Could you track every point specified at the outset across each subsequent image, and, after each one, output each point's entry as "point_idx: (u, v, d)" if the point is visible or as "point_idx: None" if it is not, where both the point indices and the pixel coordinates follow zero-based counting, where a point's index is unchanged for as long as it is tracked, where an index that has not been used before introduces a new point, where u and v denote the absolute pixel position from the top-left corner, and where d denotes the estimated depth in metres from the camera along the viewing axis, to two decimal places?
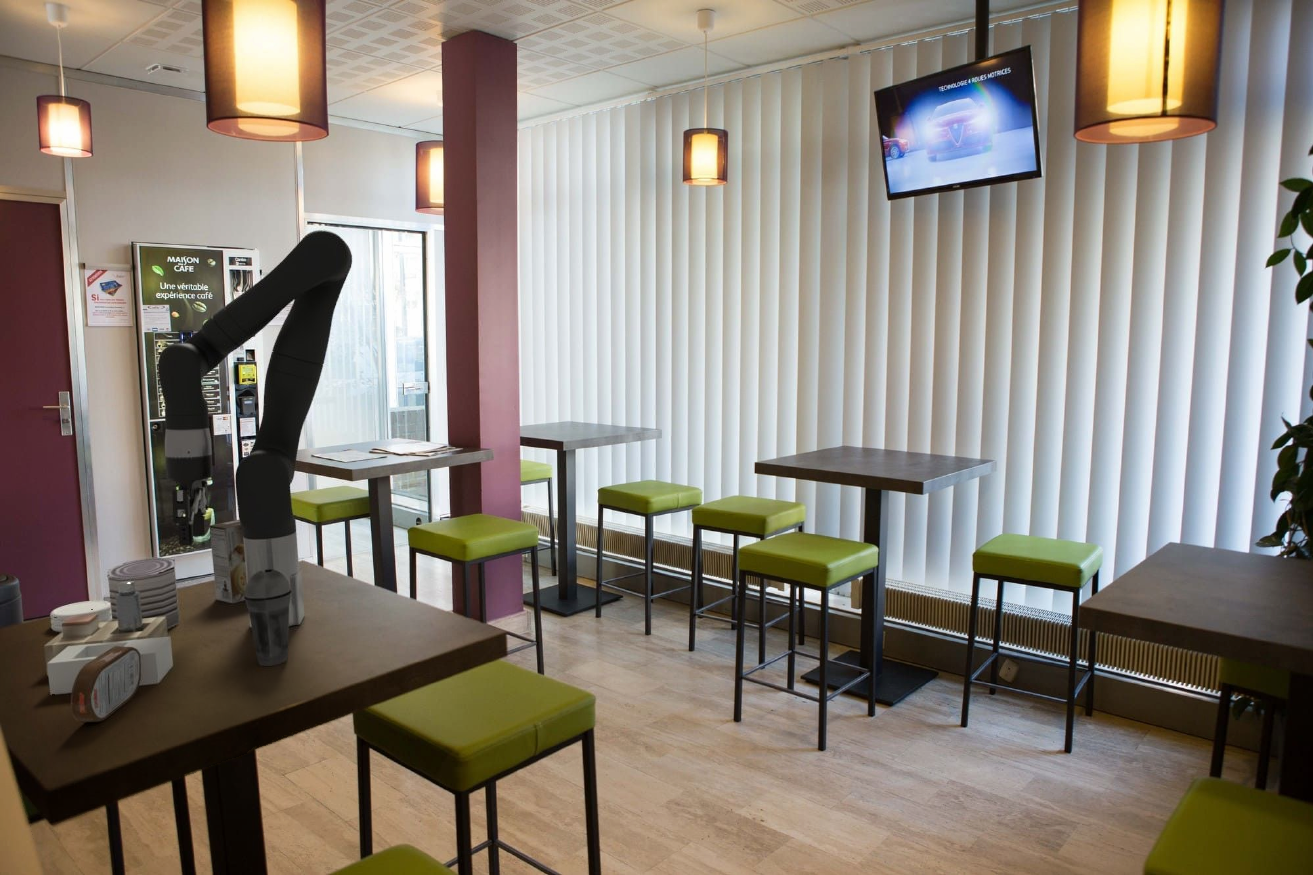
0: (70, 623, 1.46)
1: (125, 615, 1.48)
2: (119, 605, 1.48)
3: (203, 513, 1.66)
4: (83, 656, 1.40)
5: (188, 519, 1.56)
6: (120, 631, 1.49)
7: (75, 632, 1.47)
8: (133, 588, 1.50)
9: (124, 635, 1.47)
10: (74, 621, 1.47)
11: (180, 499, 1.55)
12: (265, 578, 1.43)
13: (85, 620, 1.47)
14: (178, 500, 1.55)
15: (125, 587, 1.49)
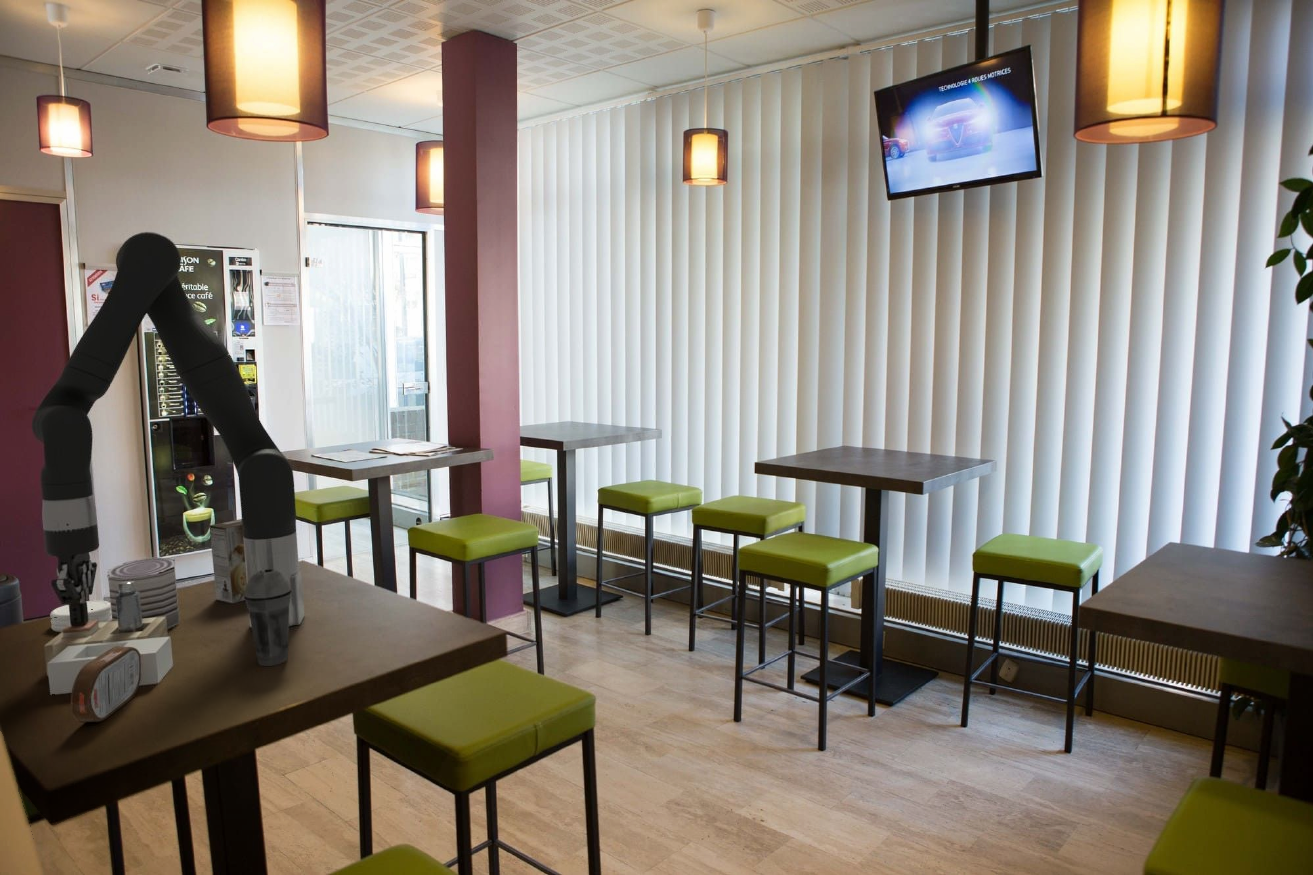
0: (71, 629, 1.47)
1: (125, 615, 1.48)
2: (119, 605, 1.48)
3: (84, 597, 1.49)
4: (83, 656, 1.40)
5: (78, 601, 1.45)
6: (120, 631, 1.49)
7: None
8: (133, 588, 1.50)
9: (124, 635, 1.47)
10: (75, 627, 1.47)
11: (63, 589, 1.43)
12: (265, 578, 1.43)
13: (86, 626, 1.47)
14: (61, 589, 1.43)
15: (125, 587, 1.49)
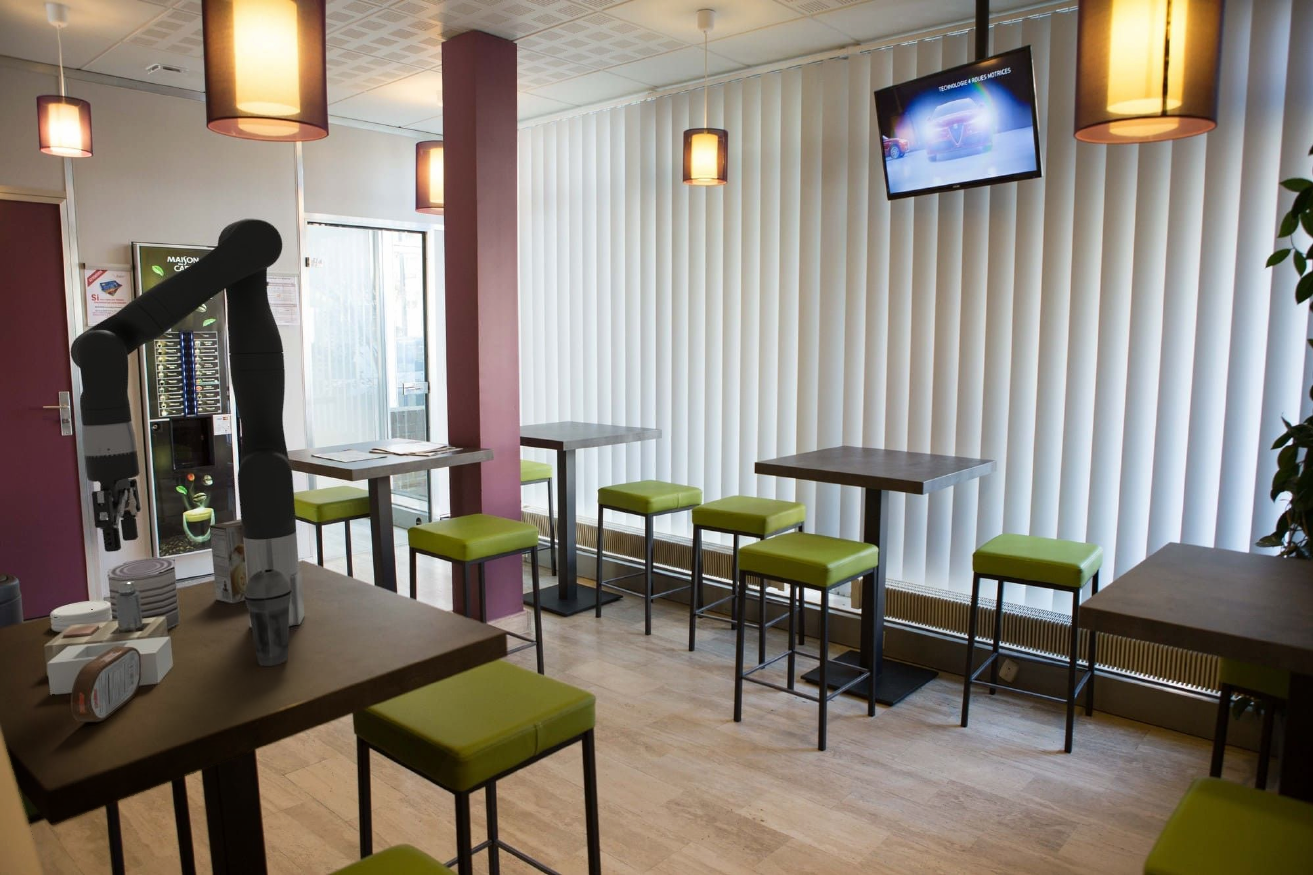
0: (71, 635, 1.47)
1: (125, 615, 1.48)
2: (119, 605, 1.48)
3: (134, 515, 1.53)
4: (83, 656, 1.40)
5: (111, 522, 1.42)
6: (120, 631, 1.49)
7: None
8: (133, 588, 1.50)
9: (124, 635, 1.47)
10: (75, 633, 1.47)
11: (101, 501, 1.41)
12: (265, 578, 1.43)
13: (86, 632, 1.48)
14: (99, 502, 1.41)
15: (125, 587, 1.49)
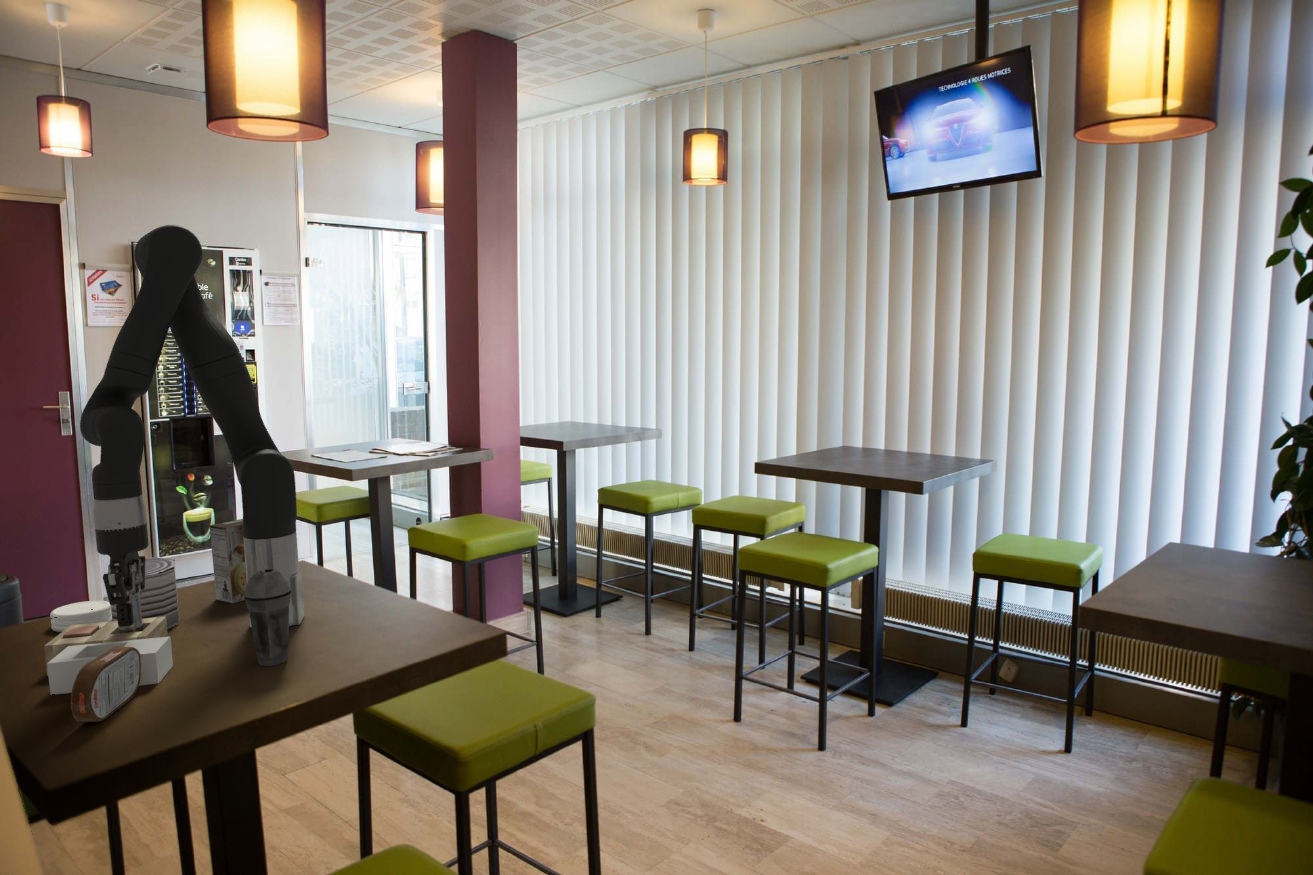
0: (71, 635, 1.47)
1: None
2: None
3: None
4: (83, 656, 1.40)
5: (126, 600, 1.46)
6: (120, 631, 1.49)
7: None
8: None
9: (124, 635, 1.47)
10: (75, 633, 1.47)
11: (113, 584, 1.44)
12: (265, 578, 1.43)
13: (86, 632, 1.48)
14: (111, 584, 1.44)
15: None
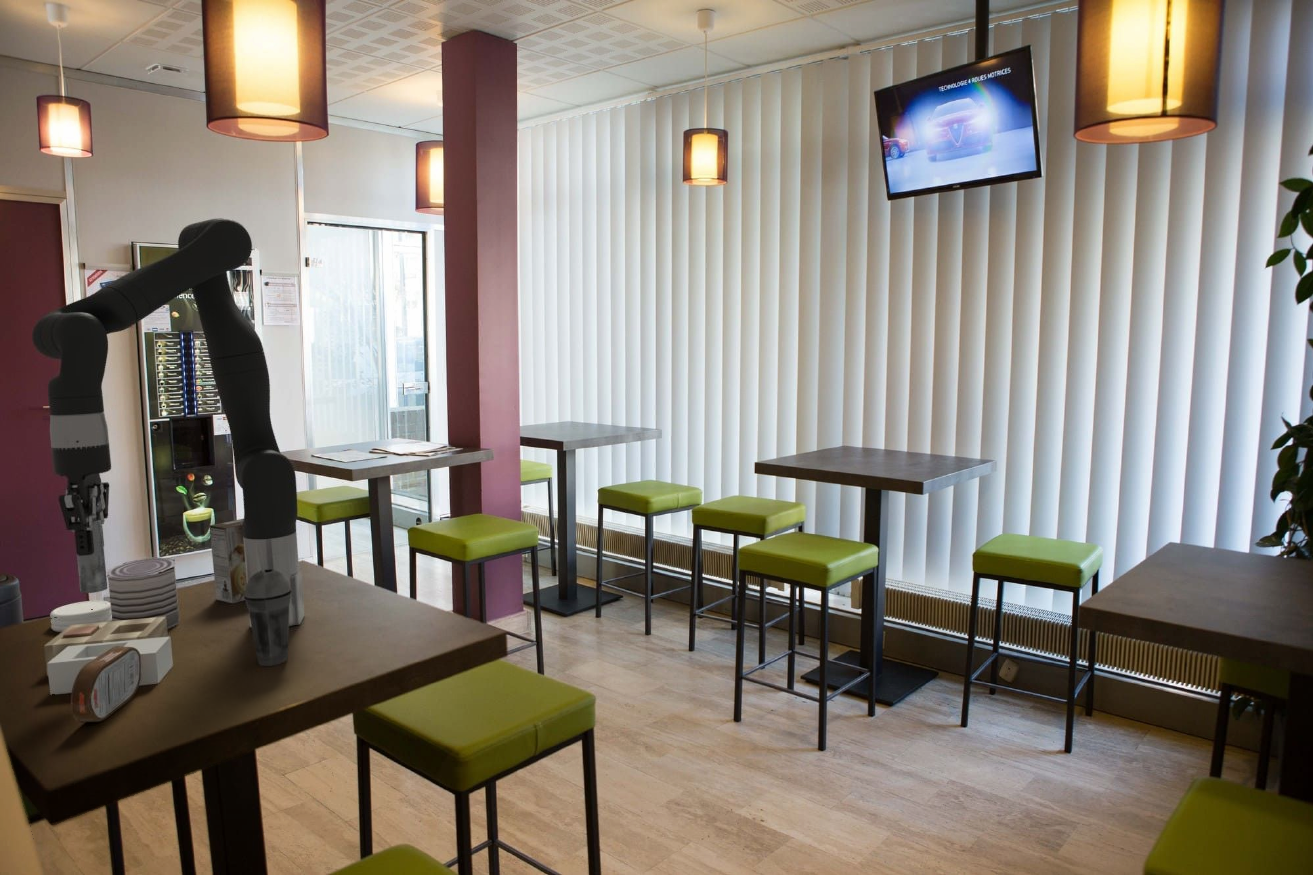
0: (71, 635, 1.47)
1: None
2: None
3: None
4: (83, 656, 1.40)
5: (84, 526, 1.33)
6: (79, 561, 1.36)
7: None
8: None
9: (124, 635, 1.47)
10: (75, 633, 1.47)
11: (70, 506, 1.31)
12: (265, 578, 1.43)
13: (86, 632, 1.48)
14: (68, 507, 1.31)
15: None
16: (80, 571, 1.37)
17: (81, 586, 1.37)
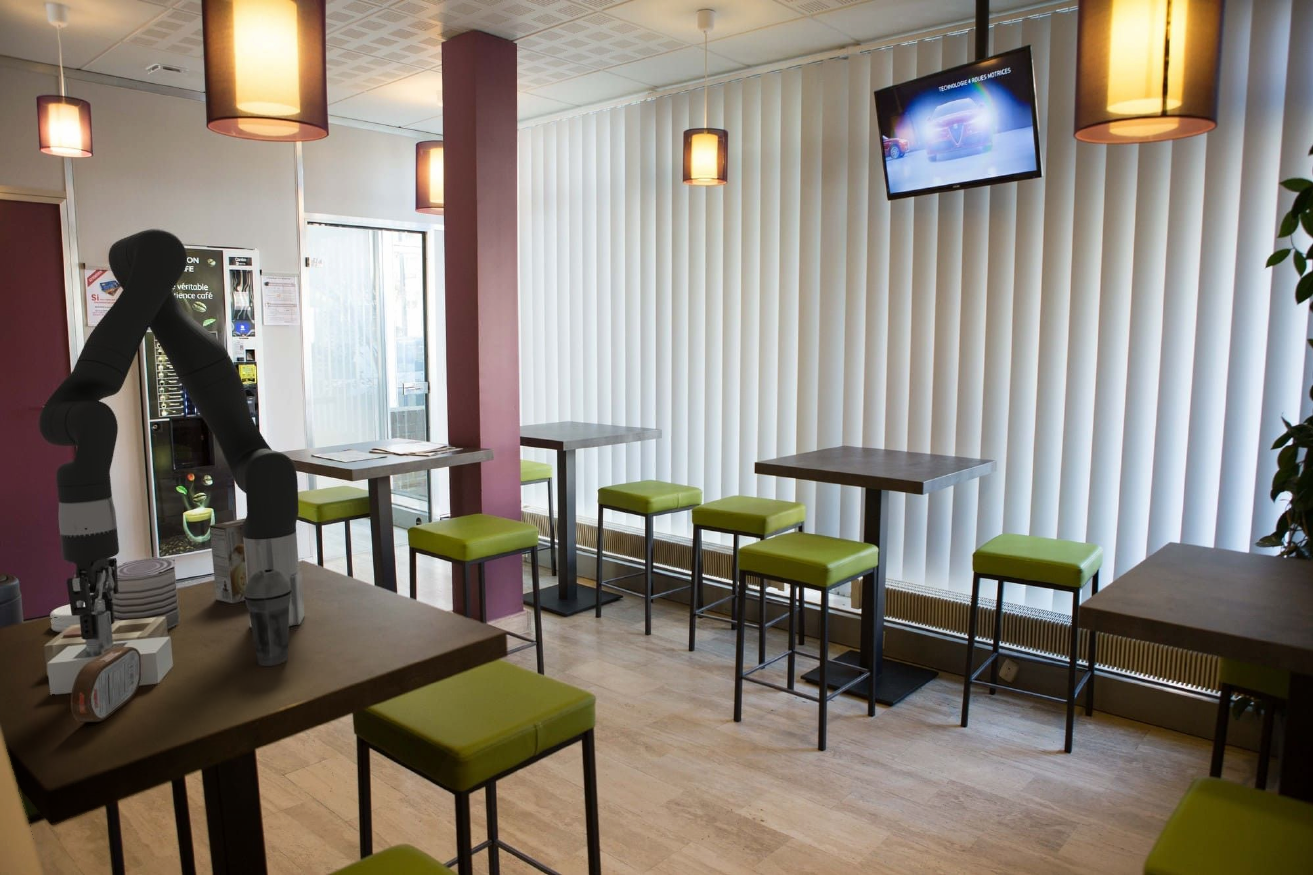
0: (71, 635, 1.47)
1: None
2: None
3: (110, 598, 1.42)
4: (83, 656, 1.40)
5: (89, 610, 1.33)
6: (88, 654, 1.38)
7: None
8: (103, 607, 1.39)
9: (124, 635, 1.47)
10: (75, 633, 1.47)
11: (77, 589, 1.32)
12: (265, 578, 1.43)
13: None
14: (75, 590, 1.32)
15: None
16: None
17: None
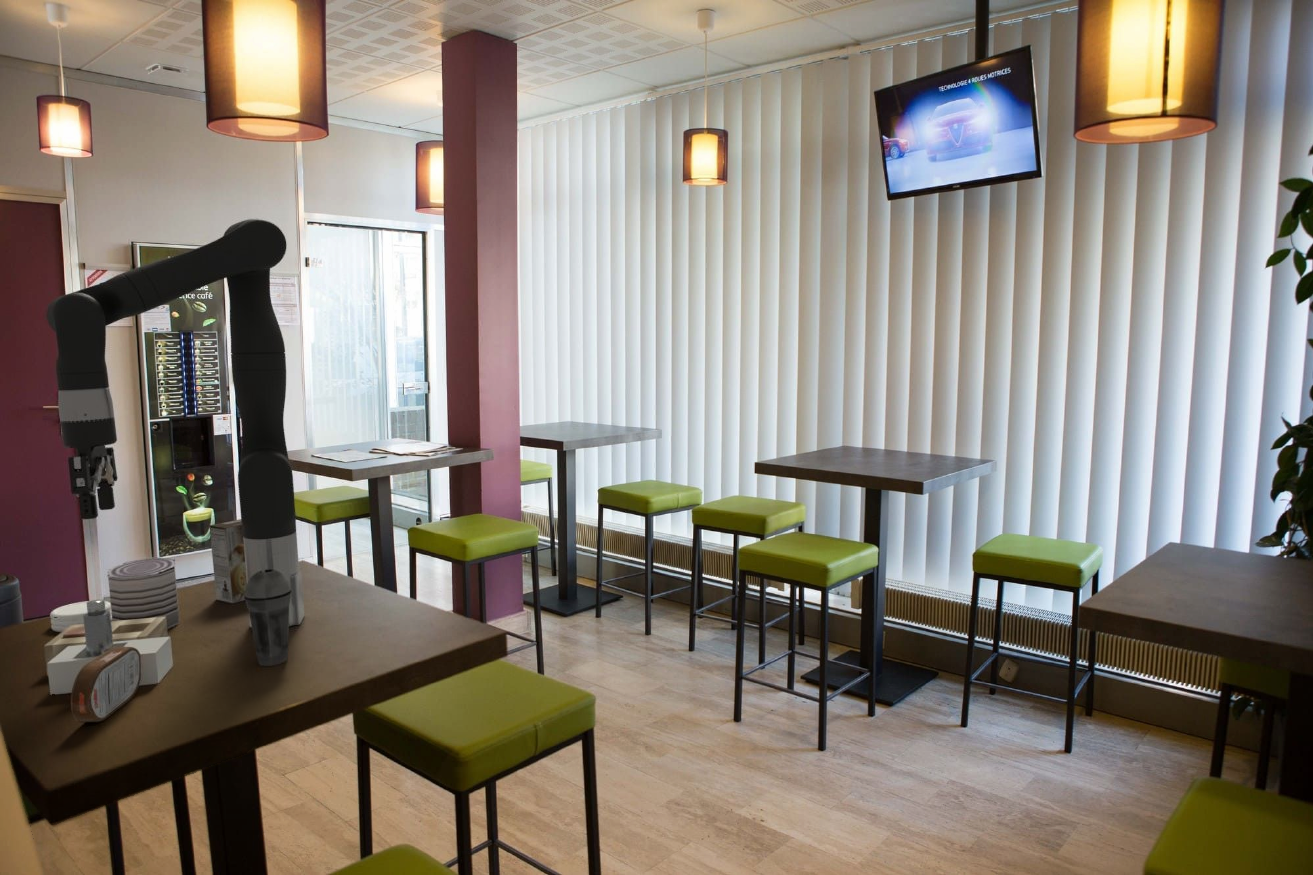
0: (71, 635, 1.47)
1: (93, 636, 1.38)
2: (87, 625, 1.37)
3: (111, 484, 1.50)
4: (83, 656, 1.40)
5: (88, 489, 1.39)
6: (88, 654, 1.38)
7: None
8: (103, 607, 1.39)
9: (124, 635, 1.47)
10: (75, 633, 1.47)
11: (78, 467, 1.39)
12: (265, 578, 1.43)
13: None
14: (75, 468, 1.39)
15: (94, 606, 1.38)
16: None
17: None
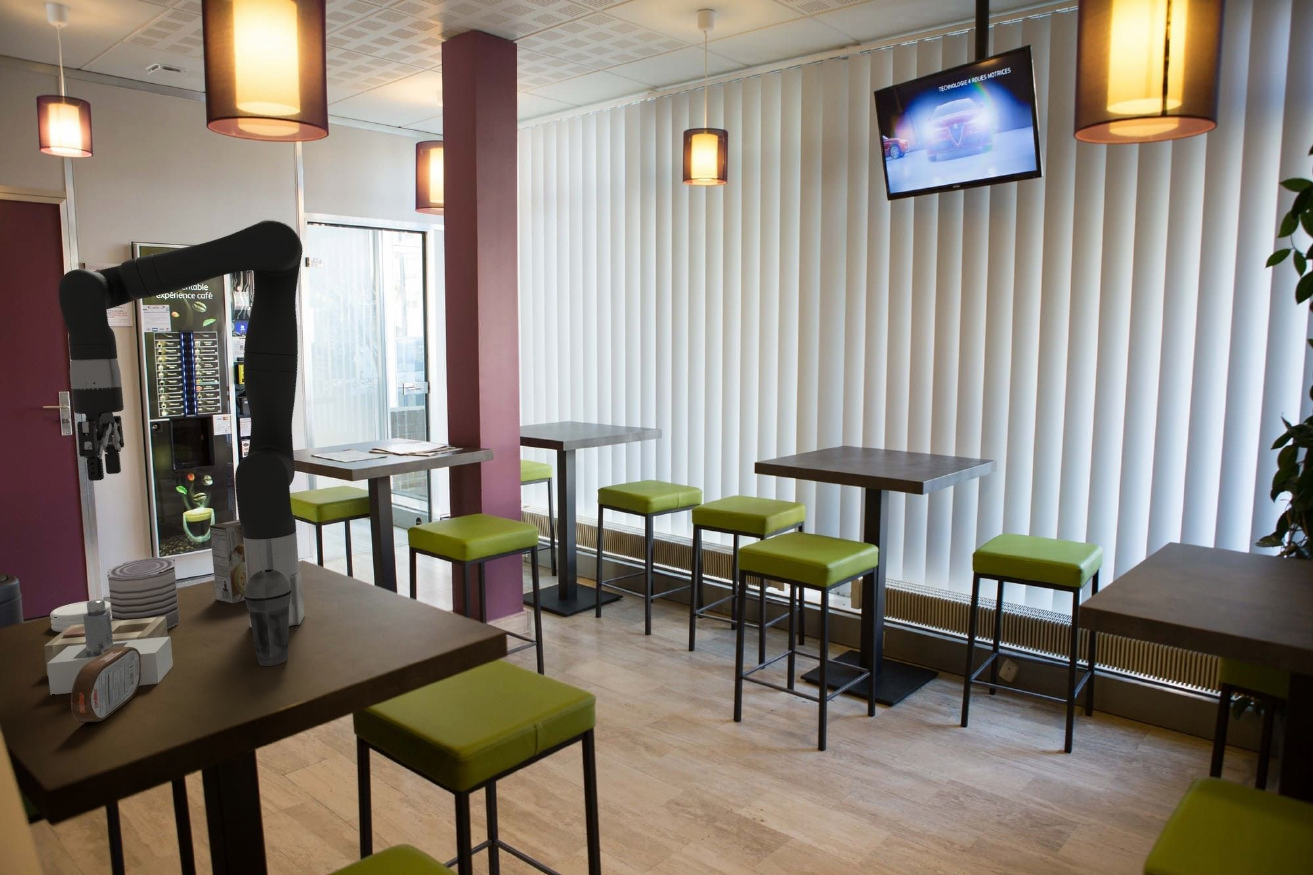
0: (71, 635, 1.47)
1: (93, 636, 1.38)
2: (87, 625, 1.37)
3: (117, 450, 1.60)
4: (83, 656, 1.40)
5: (95, 452, 1.49)
6: (88, 654, 1.38)
7: None
8: (103, 607, 1.39)
9: (124, 635, 1.47)
10: (75, 633, 1.47)
11: (86, 431, 1.49)
12: (265, 578, 1.43)
13: None
14: (84, 432, 1.49)
15: (94, 606, 1.38)
16: None
17: None
